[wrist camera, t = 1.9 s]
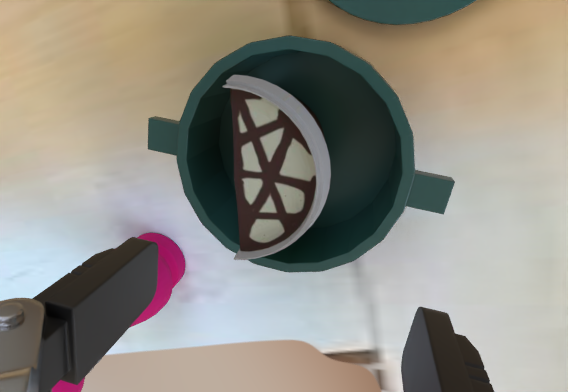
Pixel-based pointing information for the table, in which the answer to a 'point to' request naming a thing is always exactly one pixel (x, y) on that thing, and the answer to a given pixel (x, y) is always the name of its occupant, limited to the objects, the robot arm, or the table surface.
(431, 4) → the pot lid
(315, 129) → the food container
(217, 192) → the pot
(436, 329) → the robot arm
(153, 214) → the table surface
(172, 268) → the pepper mill
